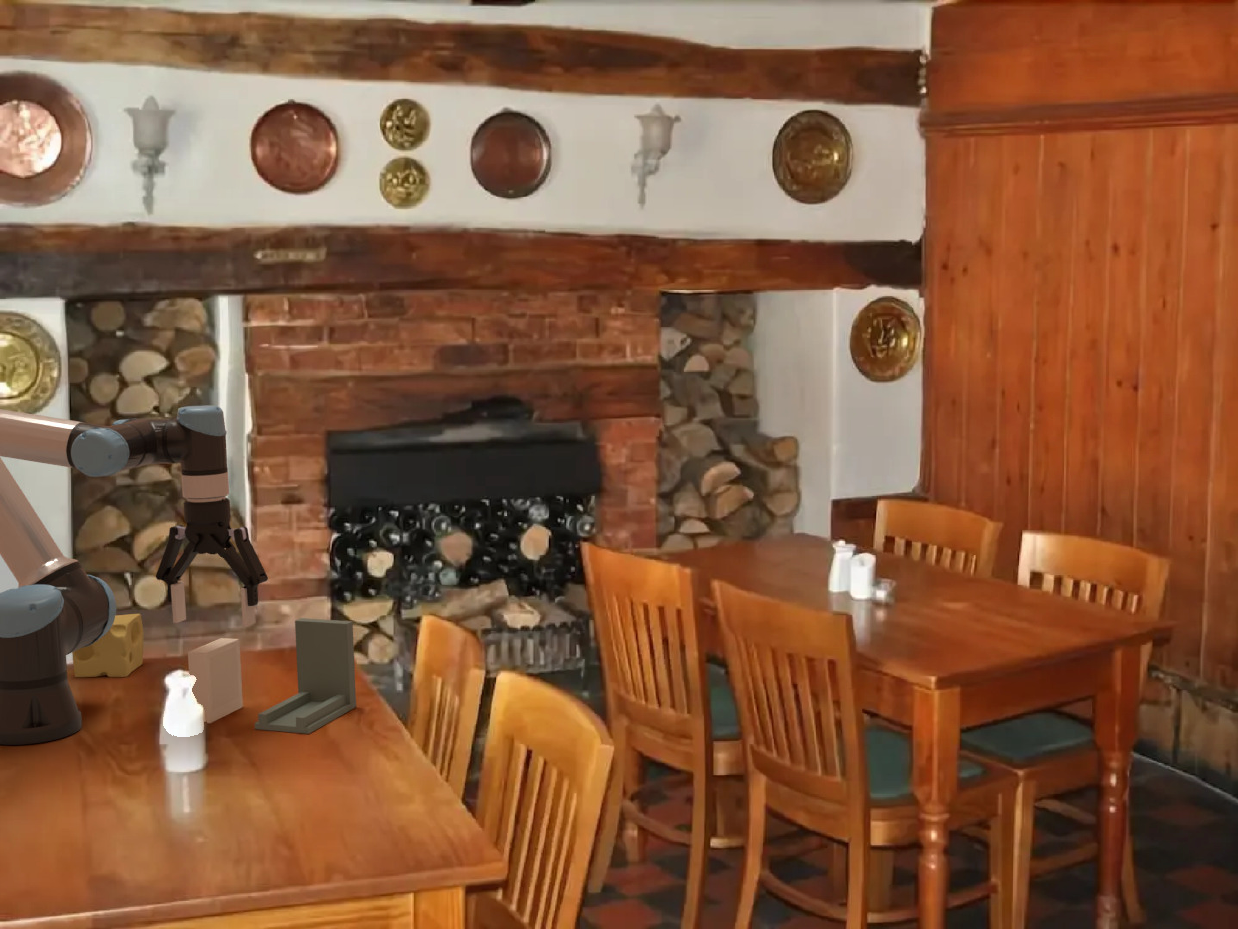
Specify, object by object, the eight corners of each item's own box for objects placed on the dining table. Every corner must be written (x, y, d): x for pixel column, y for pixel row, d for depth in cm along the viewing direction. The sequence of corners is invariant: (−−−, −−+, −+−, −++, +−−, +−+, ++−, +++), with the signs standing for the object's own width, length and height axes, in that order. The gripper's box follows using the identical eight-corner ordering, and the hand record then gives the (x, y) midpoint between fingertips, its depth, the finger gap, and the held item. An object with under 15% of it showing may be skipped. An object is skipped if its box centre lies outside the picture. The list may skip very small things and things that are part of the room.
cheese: (127, 677, 288) (124, 625, 287) (70, 678, 288) (67, 626, 287) (145, 663, 298) (142, 612, 297) (90, 664, 298) (87, 613, 297)
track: (308, 733, 250) (304, 643, 248) (254, 729, 253) (250, 639, 251) (356, 707, 265) (352, 621, 263) (304, 702, 268) (300, 618, 266)
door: (210, 723, 257) (206, 653, 256) (191, 721, 258) (187, 651, 257) (243, 707, 267) (239, 639, 265) (225, 705, 268) (221, 638, 266)
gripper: (283, 496, 257) (290, 621, 260) (156, 493, 265) (164, 614, 268) (259, 503, 250) (266, 631, 253) (129, 500, 258) (138, 624, 261)
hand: (214, 623), depth 260 cm, fingers open, 13 cm apart
